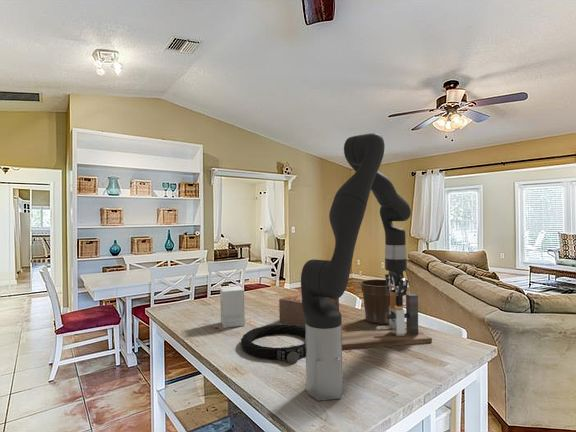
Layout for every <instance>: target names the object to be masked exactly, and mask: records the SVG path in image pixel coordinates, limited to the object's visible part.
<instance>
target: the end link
mask: <svg viewBox="0 0 576 432" xmlns="http://www.w3.org/2000/svg"><path fill="white" fill-rule="evenodd" d="M389 314H395V319H389V324H388V325H379V326H376V327H375V330H377V331H385V330H389V331H390V332H391V333H393V334H394V335H395V336H397V337H398V336H405V328H406V325H405V324H406V323H405V322H406V321H405V320H406V318H405V317H404V314H405V309H404V305H403V306H401V307H398V306H396V292H390V306H389Z"/></svg>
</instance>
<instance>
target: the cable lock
mask: <svg viewBox="0 0 576 432" xmlns="http://www.w3.org/2000/svg"><path fill="white" fill-rule="evenodd" d="M283 334H284V335H285V334H286V335H293V336H299V337H302V338H304V339H306V337H305V335H306V333H305V327H303V326H296V325H292V324H272V325H270V324H269V325H268V324H267V325H264V326H260V327H256V328H253V329H250V330H249V331H247V332H246V333H244V334H243V335H242V338H241V339H240V346H241V349H243V351H244V352H246V353H247V354H249V355H251V356H253V357H255V358H256V357H257V358H261V359H266V360H277V361H280V362H281V361H285V360H286V363H289V364H295V363H297V362H298V361H299V360H300V359H301V358H303V357H304V356H306V342H304V343H302V344H298V345H293V346H289V347H287V346H285V347H282V346H281V347H271V346H264V345H259V344H255V343H254V342H253V341H255V340H256V339H258V338H261V337H264V336H270V335H283Z"/></svg>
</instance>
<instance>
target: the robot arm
mask: <svg viewBox="0 0 576 432" xmlns="http://www.w3.org/2000/svg"><path fill="white" fill-rule="evenodd" d="M385 145H386V144H385V140H384V137H383V136H382V135H381V134H379V133H378V132H377V133H373V132H371V133H364V134H358V135H353V136H350V137H348V138H347V139H346V140H345V142H344V145H343V155H344V158H345V159H346V161H347V163H348V165H349V166H350V167H351V168H352V169H353V171H354V173H353V175H352V176H351V177H349V178H348V179H347V180H346V181H345V182H344V183H343V184H342V186H341V187H339V188H338V190H337V192H335V195H334V197H333V200H332V203H331V207H330V210H329V214H328V215H329V216H328V217H329V222H330V226H331V229H332V230H331V231H332V232H333V235H334V241H335V242H334V243H335V244H334V250H333V254H332V256H331V260H327V259H310V260H307V261H306V262H305V263H304V265H303V267H302V269H301V274H300V290H301V291H300V292H301V294H302V309H303V313H304V316H305V333H306V335H305V337H306V338H305V337H304V338H305V343H306V355H305V377H306V378H305V380H306V381H305V382H306V384H305V385H306V388H305V389H306V393H307V394H308V395H309V396H310V397H312V398H314V399H315V401H328V400H338V399H342V395H343V393H344V391H343V390H344V388H343V386H344V385H343V383H344V382H343V381H344V380H343V379H344V377H343V349H342V332H343V331H342V330H343V329H342V327H343V325H342V324H343V321H342V312H340V309H339V310H337V309H336V308H334V307H333V306H332V305H331V304H330V303H329V302H328V301H327V300H326V298H333V299H337V298H339V299H340V298H341V297H342V296H343V295H344V293H346V289H347V287H348V283H349V279H350V273H351V268H352V263H353V258H354V252H355V249H356V244H357V239H358V236H359V232H360V230H361V226H362V223H363V220H364V218H365V212H366V209H367V206H368V201H369V197H370V194H371V191H372V194H373V195H374V198H375V199H376V201H377V203H378V205H380V207H379V216H380V218H381V220H380V221H381V222H382V226H383V230H384V235H385V236H384V240H385V243H384V244H385V245H384V247H385V248H384V269H385V271H388V273H385V274H384V278H385V279H384V280H386V285H387V290H389V292H396V306H398V307H401V306H403V307H404V296H406V294H407V291H408V286H409V280H408V278H406V279H405V277H404V276H405V275H404V272H406V271H407V270H408V264H407V262H408V260H407V257H408V256H407V253H408V252H407V245H406V241H407V240H406V230H405V229H404V228H401V227H396V226H395V225H394V224H393V222H405V221H407V220H409V218H410V217H411V216H412V215H411V214H412V213H411V212H412V211H411V207H410V204H409V203H408V202H407V201H406V200H405V199H404V197H402V196H401V195H400V194H399V193H398V192H397V189H396V188H395V186H394V184H393V182H392V181H391V180H390V179H389V178H388V177H387V176H386V175H385V174H383V173H382V172H381V171H379V169H380V166H381V165H382V161H383V158H384V153H385V148H386V147H385Z"/></svg>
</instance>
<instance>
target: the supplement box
mask: <svg viewBox="0 0 576 432" xmlns="http://www.w3.org/2000/svg"><path fill="white" fill-rule="evenodd" d="M219 295H220V297H219V298H220V323H221V325H222V328H223V329H228V328H236V327H244V326H246V318H245V317H246V315H245V314H246V312H245V289H244V288H243V287H242V286H240V285H238V286H237V285H236V286H227V287H225V286H224V287H223V286H222V287H220V291H219Z"/></svg>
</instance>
